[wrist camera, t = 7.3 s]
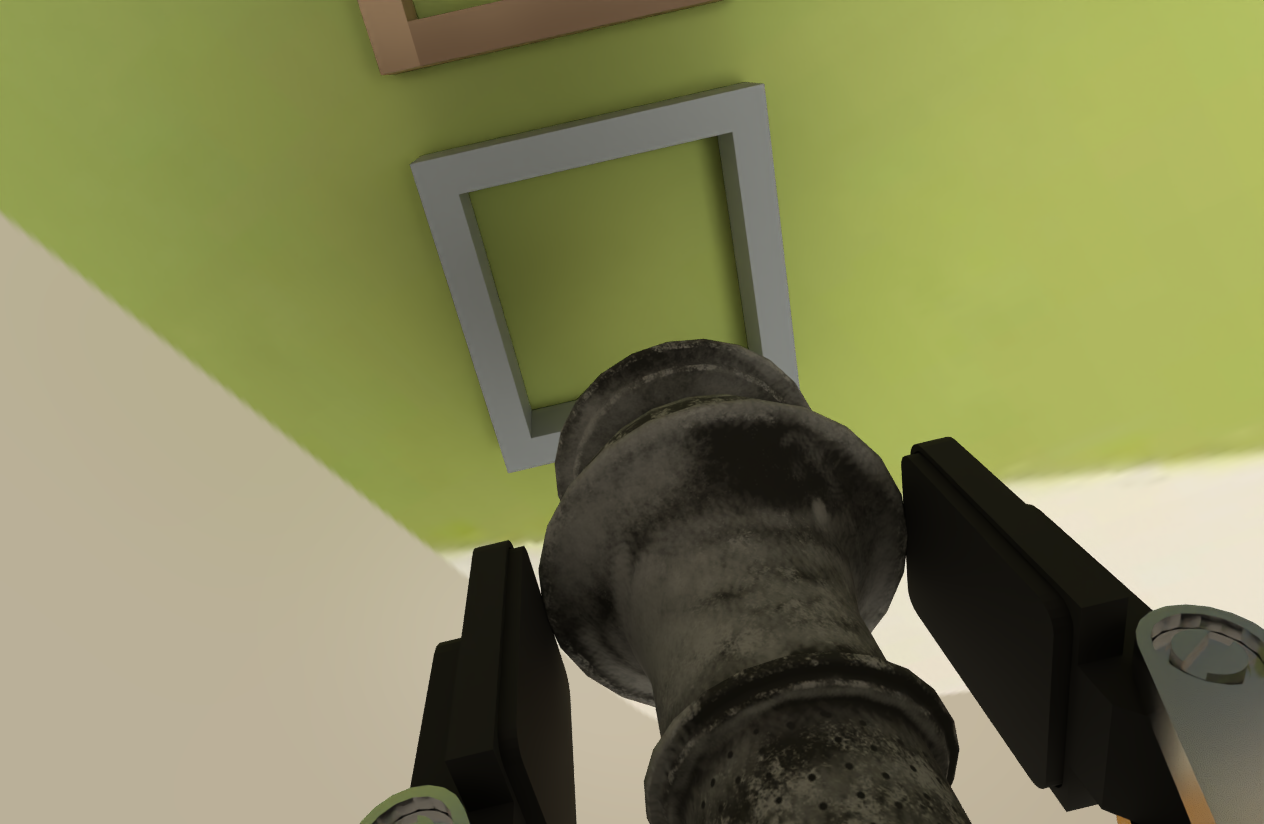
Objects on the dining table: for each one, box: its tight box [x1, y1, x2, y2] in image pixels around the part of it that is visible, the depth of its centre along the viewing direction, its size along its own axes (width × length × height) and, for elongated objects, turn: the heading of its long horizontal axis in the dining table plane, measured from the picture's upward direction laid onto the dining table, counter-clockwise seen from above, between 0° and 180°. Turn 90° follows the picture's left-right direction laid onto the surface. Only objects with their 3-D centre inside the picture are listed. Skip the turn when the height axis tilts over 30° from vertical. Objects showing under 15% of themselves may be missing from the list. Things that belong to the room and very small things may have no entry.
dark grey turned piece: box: [539, 339, 971, 824], centre depth 10 cm, size 6×6×12 cm
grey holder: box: [410, 82, 800, 473], centre depth 27 cm, size 11×11×2 cm
